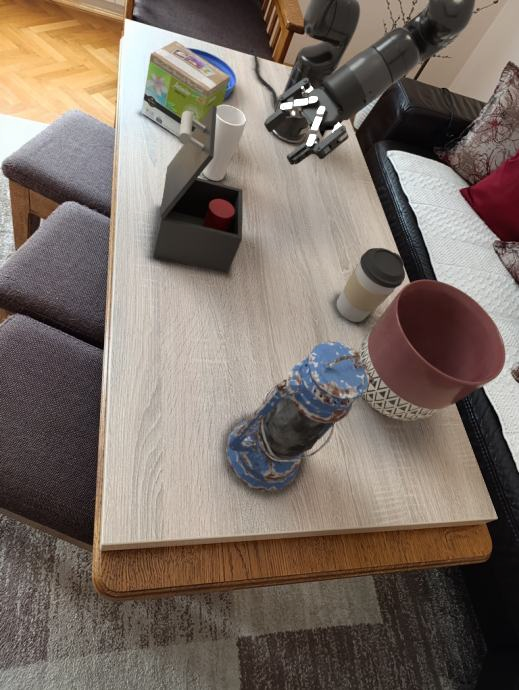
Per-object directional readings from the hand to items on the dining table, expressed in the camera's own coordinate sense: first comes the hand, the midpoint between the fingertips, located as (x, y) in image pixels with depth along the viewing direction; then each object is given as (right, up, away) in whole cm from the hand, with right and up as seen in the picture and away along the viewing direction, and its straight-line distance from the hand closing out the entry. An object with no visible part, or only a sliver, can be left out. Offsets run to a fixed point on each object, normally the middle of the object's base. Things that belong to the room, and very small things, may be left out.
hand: (277, 144), depth 87 cm
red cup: (-13, -13, +14) cm, 23 cm away
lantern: (-2, -52, -7) cm, 53 cm away
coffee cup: (+16, -27, +17) cm, 36 cm away
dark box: (-16, -14, +13) cm, 25 cm away
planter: (+20, -44, +8) cm, 49 cm away
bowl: (-19, +34, +45) cm, 60 cm away
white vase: (-14, +4, +26) cm, 30 cm away
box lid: (-15, -4, -2) cm, 16 cm away
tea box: (-22, +18, +32) cm, 43 cm away
